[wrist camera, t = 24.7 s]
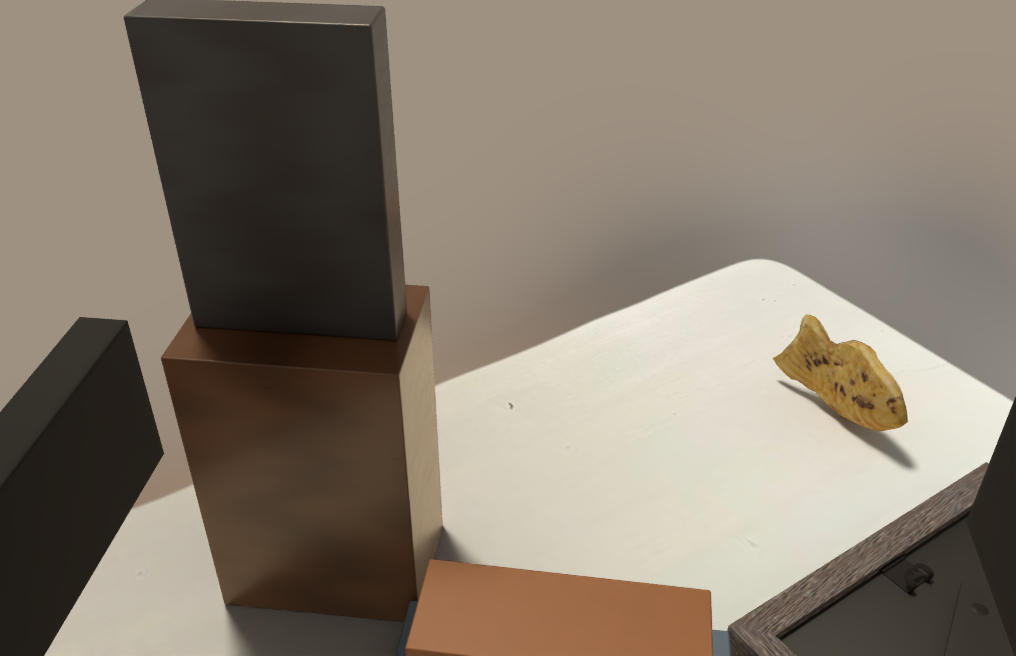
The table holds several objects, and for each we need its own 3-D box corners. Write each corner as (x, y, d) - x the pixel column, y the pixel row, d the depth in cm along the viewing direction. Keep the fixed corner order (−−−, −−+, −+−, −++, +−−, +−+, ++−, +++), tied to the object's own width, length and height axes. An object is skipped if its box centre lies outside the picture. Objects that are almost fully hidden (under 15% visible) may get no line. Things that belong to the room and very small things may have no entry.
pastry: (907, 449, 52) (931, 376, 49) (890, 460, 52) (912, 387, 49) (782, 368, 58) (796, 299, 55) (764, 377, 57) (778, 307, 55)
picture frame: (1001, 924, 33) (1255, 669, 41) (1019, 896, 32) (1277, 639, 40) (723, 648, 42) (977, 484, 50) (730, 619, 41) (989, 455, 49)
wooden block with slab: (224, 604, 44) (76, 35, 29) (266, 508, 49) (158, -21, 34) (419, 623, 43) (372, 48, 28) (442, 524, 48) (412, -12, 33)
